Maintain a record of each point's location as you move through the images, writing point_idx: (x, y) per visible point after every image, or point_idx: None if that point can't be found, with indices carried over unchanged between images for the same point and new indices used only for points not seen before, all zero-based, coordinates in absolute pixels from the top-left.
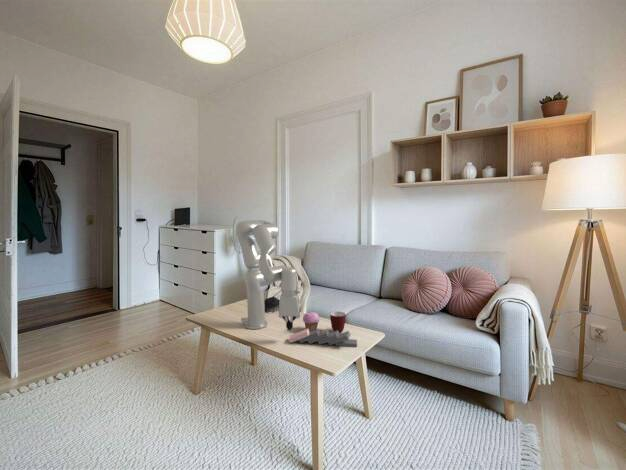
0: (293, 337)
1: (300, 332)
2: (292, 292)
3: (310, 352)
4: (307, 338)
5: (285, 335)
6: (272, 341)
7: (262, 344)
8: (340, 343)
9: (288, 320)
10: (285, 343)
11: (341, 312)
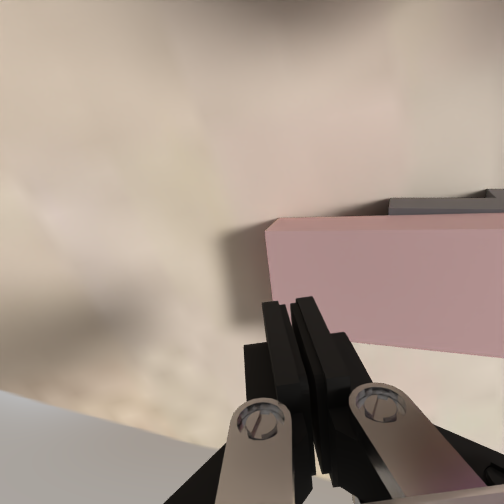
0: None
1: (425, 275)
2: None
3: (486, 412)
4: None
5: (170, 131)
6: (104, 312)
7: (48, 386)
8: None
9: (308, 485)
10: (246, 321)
11: None
